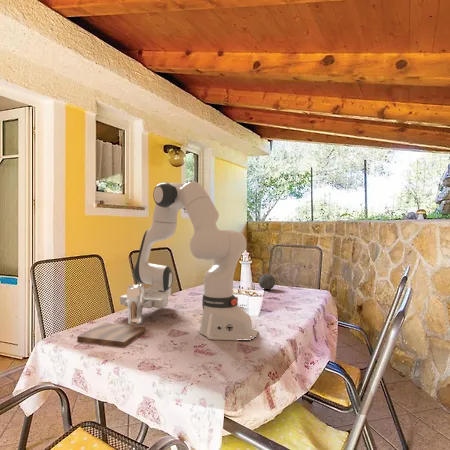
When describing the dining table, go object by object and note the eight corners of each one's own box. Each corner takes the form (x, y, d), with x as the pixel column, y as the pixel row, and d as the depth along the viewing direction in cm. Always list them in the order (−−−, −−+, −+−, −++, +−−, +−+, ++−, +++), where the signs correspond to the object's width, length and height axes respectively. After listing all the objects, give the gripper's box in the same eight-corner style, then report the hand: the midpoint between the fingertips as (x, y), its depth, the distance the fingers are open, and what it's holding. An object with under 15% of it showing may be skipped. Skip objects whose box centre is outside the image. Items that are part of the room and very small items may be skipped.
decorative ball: (275, 288, 213) (275, 273, 213) (274, 292, 203) (274, 275, 203) (259, 287, 215) (259, 272, 214) (257, 291, 205) (258, 274, 205)
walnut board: (146, 331, 128) (146, 327, 128) (123, 346, 112) (123, 342, 112) (104, 326, 132) (104, 322, 132) (77, 340, 117) (77, 336, 116)
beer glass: (139, 326, 134) (139, 288, 133) (123, 324, 135) (123, 287, 135) (146, 320, 140) (147, 285, 140) (131, 319, 142) (132, 284, 142)
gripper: (129, 288, 153) (111, 295, 139) (171, 292, 148) (157, 299, 134) (128, 302, 153) (111, 310, 139) (170, 306, 148) (157, 314, 134)
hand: (134, 305), depth 137 cm, fingers closed on beer glass, 6 cm apart
